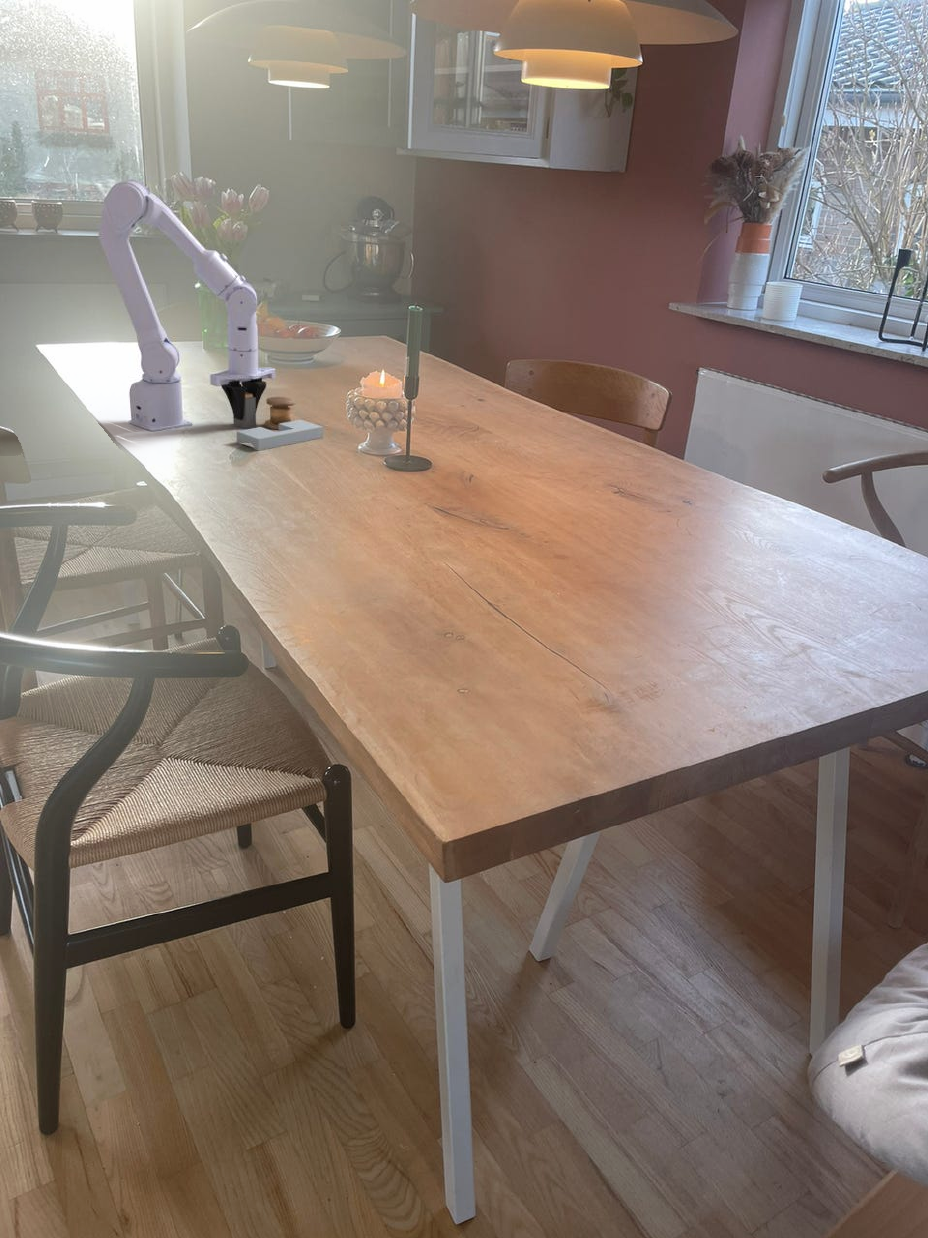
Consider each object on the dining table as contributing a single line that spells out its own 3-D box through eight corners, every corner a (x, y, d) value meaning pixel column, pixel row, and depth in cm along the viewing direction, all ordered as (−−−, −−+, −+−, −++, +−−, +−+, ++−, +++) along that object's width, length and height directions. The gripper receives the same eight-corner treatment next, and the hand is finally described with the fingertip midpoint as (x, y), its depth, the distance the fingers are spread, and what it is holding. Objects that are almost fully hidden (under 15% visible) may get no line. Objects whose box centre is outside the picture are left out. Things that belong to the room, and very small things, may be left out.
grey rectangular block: (246, 428, 189) (245, 395, 187) (233, 424, 192) (232, 391, 189) (256, 426, 191) (255, 394, 188) (243, 422, 193) (242, 390, 191)
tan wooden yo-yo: (278, 431, 189) (278, 405, 187) (258, 424, 193) (257, 398, 191) (303, 426, 194) (303, 401, 192) (282, 419, 197) (282, 395, 195)
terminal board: (258, 450, 176) (258, 439, 175) (236, 442, 180) (236, 431, 179) (322, 437, 188) (322, 426, 187) (300, 430, 191) (300, 419, 190)
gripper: (225, 355, 177) (227, 427, 183) (285, 349, 188) (285, 416, 194) (202, 349, 181) (205, 419, 187) (262, 343, 192) (263, 409, 198)
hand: (244, 417), depth 191 cm, fingers closed on grey rectangular block, 2 cm apart
